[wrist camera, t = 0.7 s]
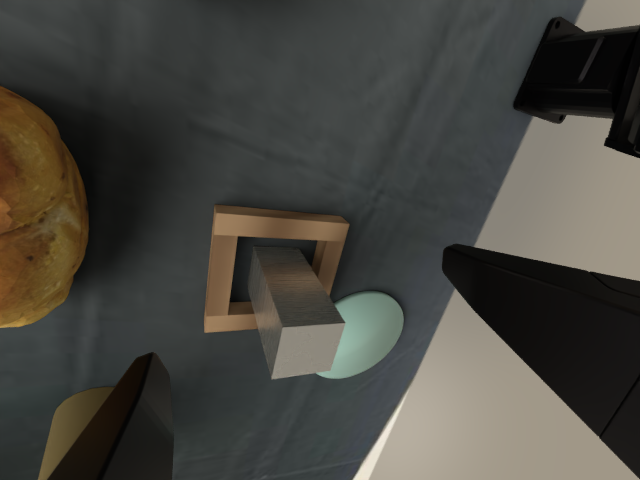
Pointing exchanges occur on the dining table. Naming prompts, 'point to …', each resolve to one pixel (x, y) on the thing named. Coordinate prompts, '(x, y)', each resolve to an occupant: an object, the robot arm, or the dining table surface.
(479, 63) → the dining table surface
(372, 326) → the teal coaster
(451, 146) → the dining table surface
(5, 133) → the bread roll
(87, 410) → the wooden pepper shaker
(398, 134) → the dining table surface
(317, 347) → the steel bar
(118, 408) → the robot arm
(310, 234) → the walnut collar
